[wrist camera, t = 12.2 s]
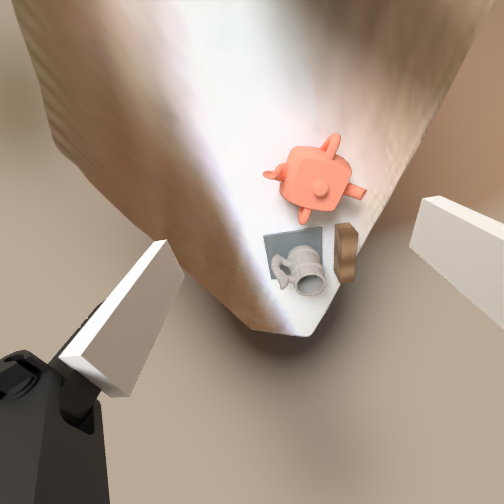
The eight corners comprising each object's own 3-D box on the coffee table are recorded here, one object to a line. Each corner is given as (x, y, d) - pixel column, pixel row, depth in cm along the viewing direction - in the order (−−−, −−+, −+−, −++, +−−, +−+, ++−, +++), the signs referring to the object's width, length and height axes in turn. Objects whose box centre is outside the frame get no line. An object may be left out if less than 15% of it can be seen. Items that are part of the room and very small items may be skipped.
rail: (335, 224, 45) (342, 235, 41) (349, 222, 45) (358, 233, 40) (333, 269, 52) (339, 283, 48) (345, 268, 52) (353, 281, 48)
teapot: (338, 121, 34) (363, 123, 26) (352, 185, 40) (377, 204, 32) (261, 161, 38) (262, 174, 30) (284, 214, 44) (290, 237, 36)
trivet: (263, 235, 47) (263, 236, 47) (321, 226, 45) (321, 227, 45) (271, 277, 54) (271, 279, 54) (321, 271, 52) (322, 272, 52)
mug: (311, 271, 52) (324, 308, 42) (266, 263, 51) (267, 300, 41) (323, 246, 48) (339, 281, 38) (273, 237, 47) (277, 271, 37)
